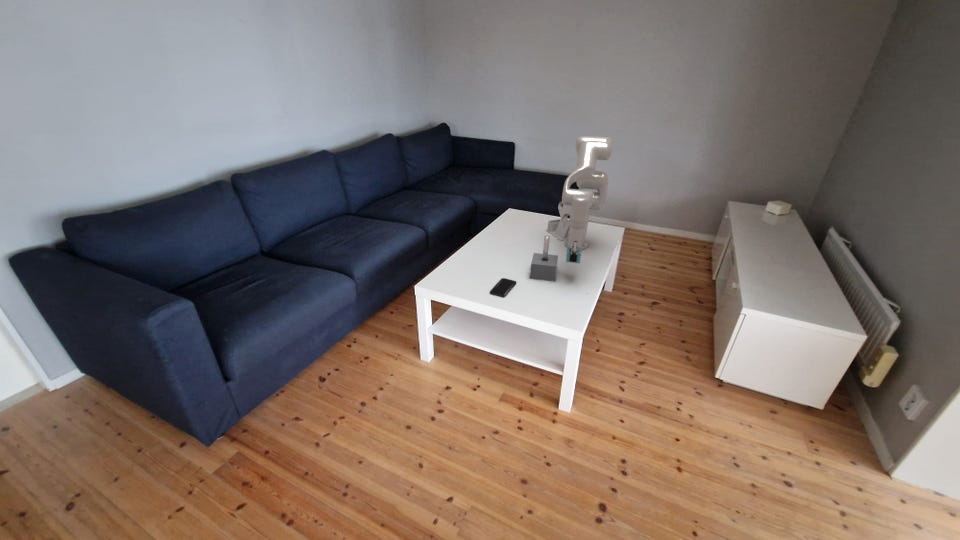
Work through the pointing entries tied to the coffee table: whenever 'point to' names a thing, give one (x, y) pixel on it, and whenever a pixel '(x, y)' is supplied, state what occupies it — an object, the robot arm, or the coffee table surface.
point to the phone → (503, 287)
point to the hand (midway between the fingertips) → (573, 257)
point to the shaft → (546, 248)
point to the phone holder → (560, 223)
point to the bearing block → (543, 267)
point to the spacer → (570, 252)
